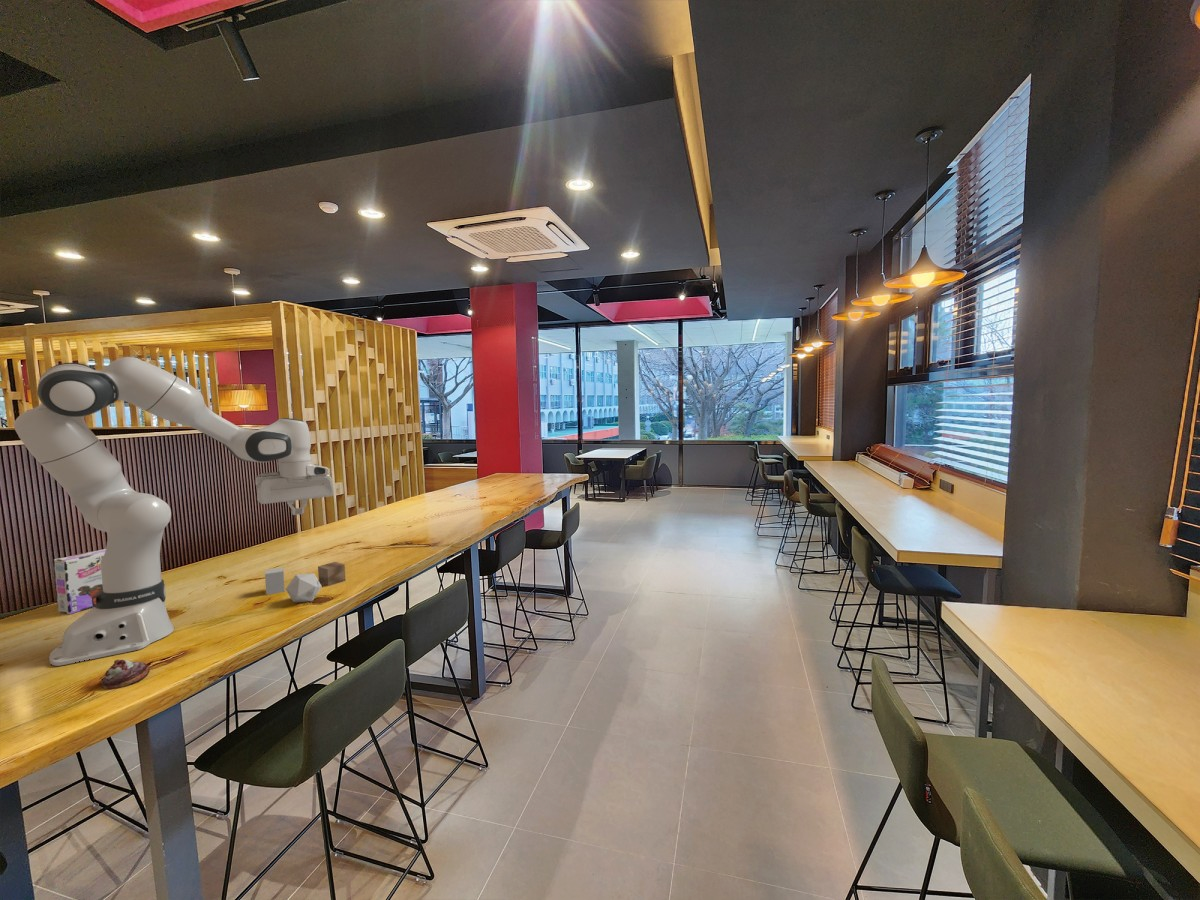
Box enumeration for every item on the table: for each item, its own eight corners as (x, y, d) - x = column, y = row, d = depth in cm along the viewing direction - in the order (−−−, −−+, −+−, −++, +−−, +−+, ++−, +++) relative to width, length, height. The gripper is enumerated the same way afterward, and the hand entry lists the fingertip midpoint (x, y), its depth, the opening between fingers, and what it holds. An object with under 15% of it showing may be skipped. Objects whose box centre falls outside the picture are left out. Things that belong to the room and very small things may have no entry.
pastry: (91, 688, 104) (89, 666, 103) (131, 669, 111) (129, 649, 110) (121, 691, 102) (119, 669, 102) (159, 673, 109) (157, 651, 109)
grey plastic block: (266, 595, 156) (265, 574, 155) (266, 590, 160) (265, 570, 159) (284, 591, 159) (283, 571, 158) (284, 587, 163) (283, 567, 162)
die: (300, 609, 145) (321, 579, 149) (274, 595, 145) (296, 565, 148) (311, 609, 153) (331, 580, 157) (286, 595, 153) (307, 567, 156)
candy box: (69, 615, 142) (63, 560, 140) (57, 612, 143) (51, 559, 142) (127, 597, 155) (123, 548, 153) (116, 595, 156) (111, 546, 155)
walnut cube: (328, 586, 163) (327, 569, 163) (318, 583, 166) (317, 566, 166) (345, 580, 168) (344, 564, 168) (335, 578, 171) (335, 561, 171)
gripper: (256, 474, 139) (259, 521, 140) (334, 468, 153) (336, 510, 154) (253, 472, 144) (256, 517, 145) (328, 466, 158) (331, 508, 159)
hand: (298, 514), depth 150 cm, fingers closed
